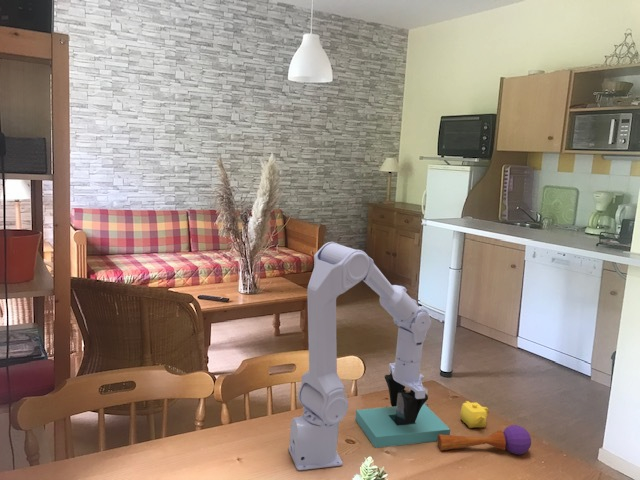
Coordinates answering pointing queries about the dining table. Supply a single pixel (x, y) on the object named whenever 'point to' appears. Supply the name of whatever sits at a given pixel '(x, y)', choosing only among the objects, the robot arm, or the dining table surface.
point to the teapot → (474, 414)
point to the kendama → (491, 440)
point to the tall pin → (400, 409)
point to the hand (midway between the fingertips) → (402, 413)
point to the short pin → (426, 393)
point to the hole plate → (399, 427)
